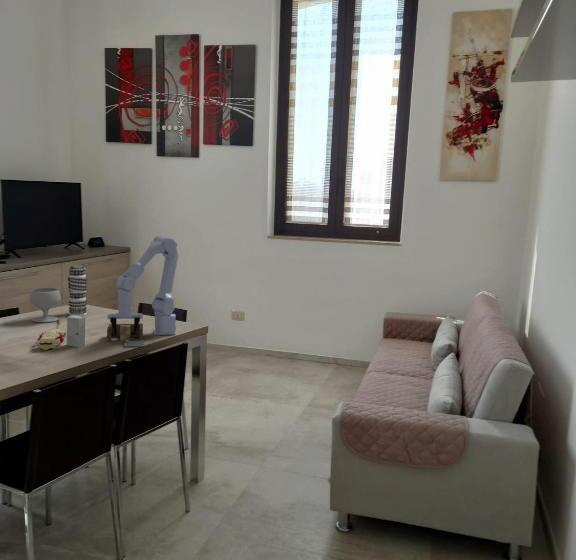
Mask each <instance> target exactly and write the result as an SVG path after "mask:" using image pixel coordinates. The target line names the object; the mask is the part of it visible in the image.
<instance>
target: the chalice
mask: <svg viewBox="0 0 576 560" xmlns="http://www.w3.org/2000/svg"><path fill="white" fill-rule="evenodd" d="M61 298H62V297H61V293H60V290H59V289H58V288H56V287H37V288H33V289H31V291H30V293H29V297H28V300H29V301H28V302H29V303H30V304H31V305H32V306H34V307H36V308H38V309H40V310H41V311H42V312H43V315H42V316H38V317H33V318H32V319H31V321H32V322H33V323H52V322H56V321H57V319H59V320H60V318H59V316H58V317H57V316H51V315H49V314H48V313H49V310H51V309H52V308H54V307H55V306H57V305H59V304H60V302H61V301H62V299H61Z"/></svg>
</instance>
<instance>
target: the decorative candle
mask: <svg viewBox="0 0 576 560" xmlns="http://www.w3.org/2000/svg"><path fill="white" fill-rule="evenodd" d="M86 270H87V268H85V267H84V265H80V264H73V265H71V266H70V268H68V271H69V273H68V276H67V281H68V283H67V284H68V287H67V288H68V293H69V298H68V299H69V300H68V303H69V304H68V306H69V307H68V313H69V316H72V315H76V316H83V317H84V316H86V315H88V314H87V311H88V310H87V309H88V307H87V305H88V304H87V297H86V293H87V285H86V284H88V282H87V281H88V278H87V279H86Z"/></svg>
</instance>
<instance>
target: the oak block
mask: <svg viewBox="0 0 576 560" xmlns="http://www.w3.org/2000/svg"><path fill="white" fill-rule="evenodd" d="M119 337H120V339H119V341H121V342H123V341H124V342H125V341H126V340H130V341H131V336H130V325H121V326H120V336H119Z"/></svg>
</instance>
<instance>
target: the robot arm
mask: <svg viewBox="0 0 576 560" xmlns="http://www.w3.org/2000/svg"><path fill="white" fill-rule="evenodd" d="M177 247H178V243H177V242H176V240H175V239H174V238H173V237H170V236H169V237H167V236H162V235H157V236H155V237H154V238H153V240H151V242H150V244H149V246H148V248H147V249H146V251H144V253H143V254H142V256H141V257H140V258H139V259H138V261H137V262H136V261H135V262H133V263H130V265H129V267H128V269H127V270H126V271H125V272H123V274H122V275H120V276H119V277H117V279H116V282H115V286H116V288H117V293H118V294H117V296H118V297H117V298H118V299H117V302H118V305H117V307H118V309H117V310H118V311H117V313H107V320H109V322H110V324H112V326H113V328H114V332H115V336H117V327H116V324H117V319H118V320H121V319H125V320H126V319H133V324H134V335H135V333H136V329H137V326H138V324H139V323H141V319H142V320H143V317H144V314H143V313H137V312H133V289H134V288H135V287H136V282H137V281H138V279H140V277H141V276H142V274H143V273H144V272H145V267H146V266H147V265H148V263H150V262H151V260H152V259H153V258H154V257H155V256H156V255H158V254H159V255H160V254H162V256H163V257H164V263H163V268H162V274H161V279H160V286H159V291H158V292H157V293H156V294H155V295H154V299H153V301H152V303H151V308H152V310H153V311H154V329H153V335H154V336H158V335H159V336H160V335H161V336H163V335H165V336H167V335H176V330H177V326H176V314H175V313H173V312H174V311H175V303H174V302H175V299H174V296H173V294H172V291H173V287H174V286H173V285H174V279H175V274H176V269H177V266H178V265H177V263H178V259H179V253H178V249H177Z"/></svg>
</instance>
